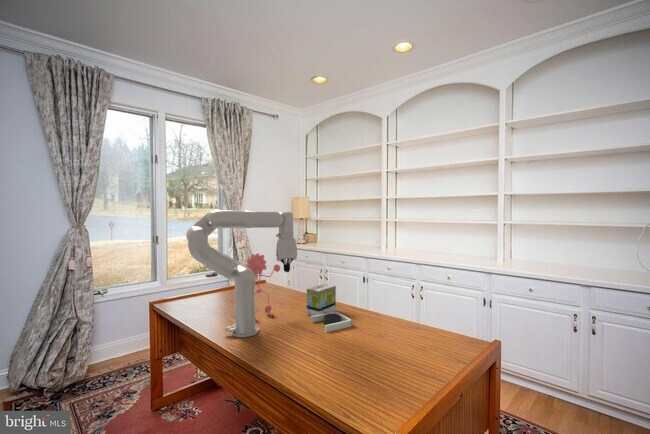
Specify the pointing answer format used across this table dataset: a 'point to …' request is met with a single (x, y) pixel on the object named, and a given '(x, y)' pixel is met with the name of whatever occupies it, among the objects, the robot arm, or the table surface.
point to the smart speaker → (331, 319)
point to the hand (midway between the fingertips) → (286, 271)
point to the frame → (335, 326)
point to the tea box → (321, 299)
